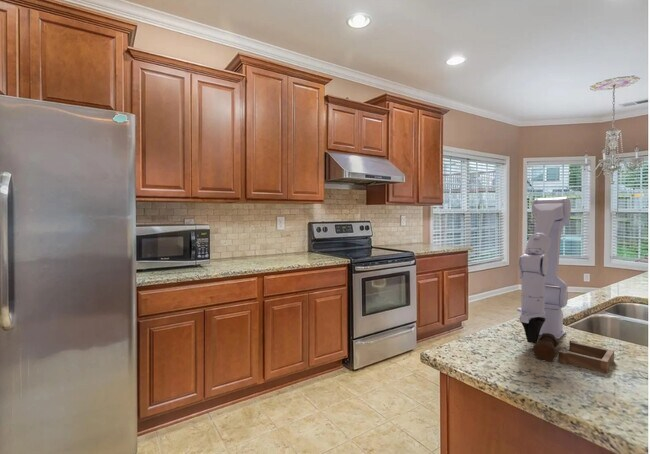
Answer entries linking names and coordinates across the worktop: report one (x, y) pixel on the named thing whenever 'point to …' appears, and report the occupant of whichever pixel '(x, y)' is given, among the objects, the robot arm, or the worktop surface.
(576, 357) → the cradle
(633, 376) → the worktop surface
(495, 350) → the worktop surface
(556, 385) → the worktop surface
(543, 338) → the bolt
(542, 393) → the worktop surface
